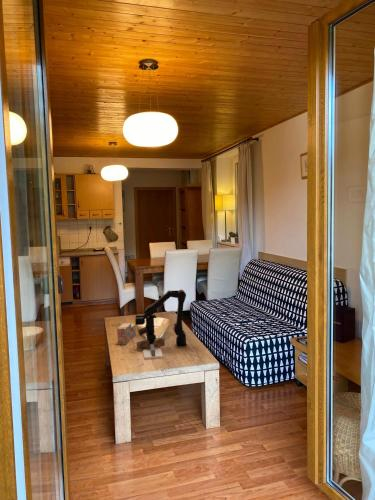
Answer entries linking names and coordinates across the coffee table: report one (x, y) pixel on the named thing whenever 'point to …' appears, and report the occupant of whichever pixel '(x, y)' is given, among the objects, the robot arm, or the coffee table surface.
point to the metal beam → (146, 344)
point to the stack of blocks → (126, 333)
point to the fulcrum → (152, 353)
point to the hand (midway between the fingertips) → (150, 345)
